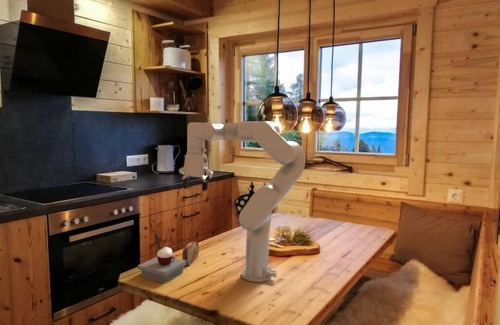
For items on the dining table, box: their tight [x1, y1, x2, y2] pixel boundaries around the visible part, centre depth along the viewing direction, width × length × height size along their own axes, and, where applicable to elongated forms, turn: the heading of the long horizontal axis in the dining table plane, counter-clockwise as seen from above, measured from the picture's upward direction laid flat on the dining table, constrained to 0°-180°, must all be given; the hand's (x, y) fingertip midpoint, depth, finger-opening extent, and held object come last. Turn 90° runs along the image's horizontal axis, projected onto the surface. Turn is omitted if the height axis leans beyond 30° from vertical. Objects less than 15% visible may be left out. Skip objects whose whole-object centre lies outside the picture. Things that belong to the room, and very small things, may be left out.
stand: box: [137, 256, 187, 284], centre depth 151 cm, size 14×14×5 cm
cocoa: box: [154, 232, 176, 265], centre depth 150 cm, size 10×6×12 cm, turn 46°
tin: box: [181, 241, 200, 266], centre depth 167 cm, size 15×3×8 cm, turn 168°
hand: (195, 189), depth 160 cm, fingers open, 9 cm apart
